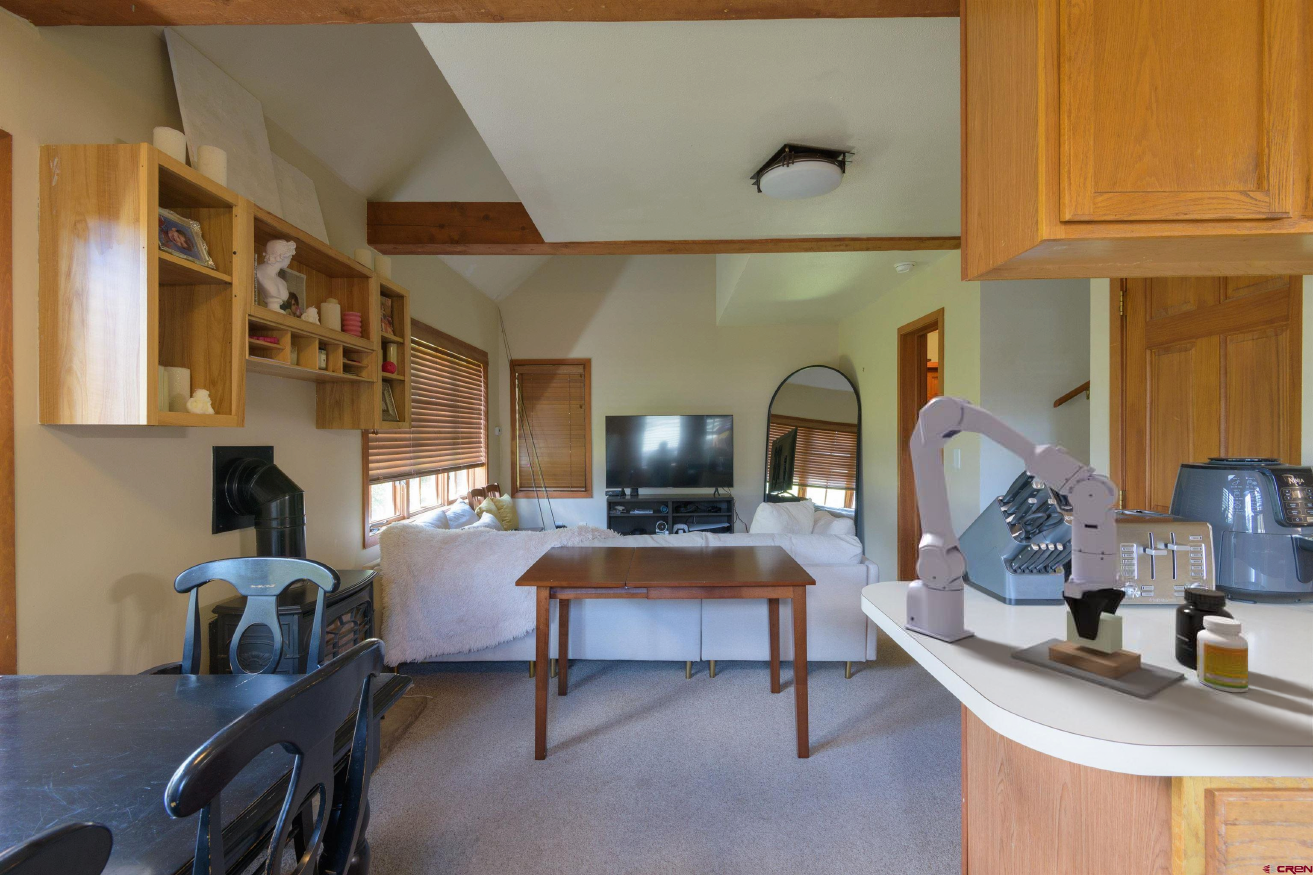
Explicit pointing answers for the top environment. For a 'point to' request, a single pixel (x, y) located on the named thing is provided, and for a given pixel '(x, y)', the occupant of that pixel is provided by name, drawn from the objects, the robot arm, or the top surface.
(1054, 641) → the grey mat
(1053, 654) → the walnut base brick
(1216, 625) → the supplement bottle
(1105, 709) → the top surface
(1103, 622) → the sage brick
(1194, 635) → the supplement bottle
